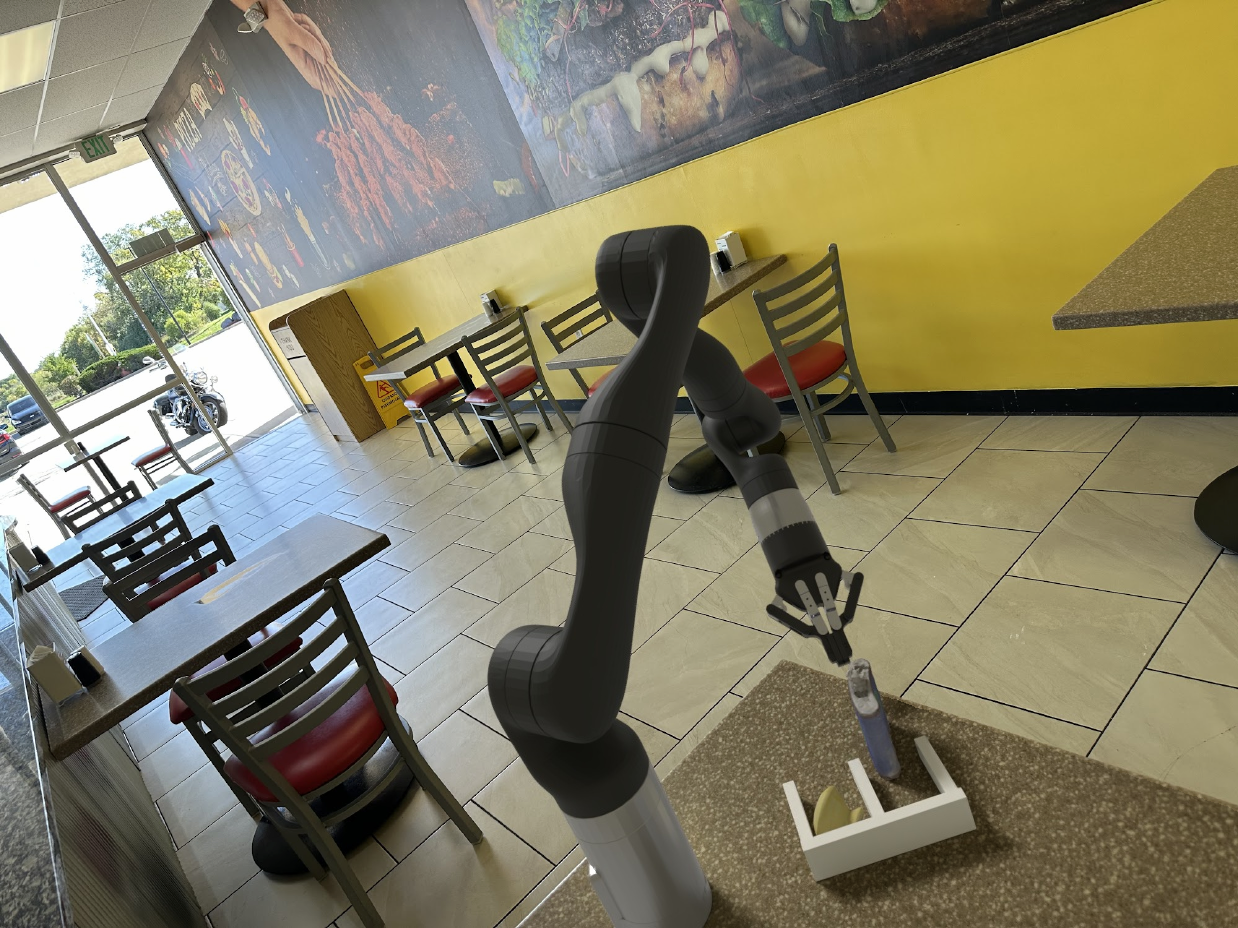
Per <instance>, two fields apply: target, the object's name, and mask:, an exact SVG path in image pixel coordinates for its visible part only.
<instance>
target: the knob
mask: <svg viewBox="0 0 1238 928" xmlns="http://www.w3.org/2000/svg"><path fill="white" fill-rule="evenodd" d="M864 813H865V811H864V807H862V806H860V807H857V808H855V809H852V810H851V809H850V808H849V806H848V803H846V801H845V799H844V797H843V796H842V795H841V793H839V791H838V789H837V787H836V786H835V785H830V786H828V787H827V788H826V789H825V790H823V792H822V793H821V794H820V796H819V797H818V800H817V802H816V804H815V807H814V812H813V829H814V833H815V836H817V835H820V834H823V833H826V832H829V831H832V830H835V829H838V828H841V827H844V826H847V825H850V824H853V823H856V822H859V821H862V820H864Z"/></svg>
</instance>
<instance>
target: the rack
mask: <svg viewBox="0 0 1238 928" xmlns="http://www.w3.org/2000/svg"><path fill="white" fill-rule="evenodd" d="M913 742H914V743H915V747H916V750H917V753H918V756H919V758H920V760H921V762H922V763H923V765H924V767H925V769H926V770H927V772H928V774H929V776H930V777H931V779H932V781H933V783H934V784H935V786H936V788H937V789H938V791H939V794H937V795H934V796H931V797H928V798H925V799H922V800H919V801H917V802H913V803H911V804H907V805H904V806H901V807H898V808H895V809H892V810H890V811H886V812H885V810H884V809H883V807H882V804H881V802H880V799H879V798H878V796H877V794H876V792H875V790H874V788H873V786H872V784H871V781H870V779H869V777H868V775H867V772H866V771H865V768H864V766H863V764H862V762H861V759H860V757H856V758H854V759H851V760H848V761H847V764H848V767H849V769H850V772H851V775H852V778H853V780H854V782H855V784H856V786H857V789H858V791H859V793H860V796H861V797H862V798H861V799H862V800H863V802H864V804H865V807H866V810H867V811H868V814H869V816H870V817H868V818H865V819H863V820H862V821H859V822H856V823H853V824H850V825H847V826H844V827H841V828H838V829H835V830H832V831H829V832H826V833H823V834H820V835H817V836H816V835H814V833H813V830H812V828H811V825H810V822H809V819H808V816H807V813H806V810H805V808H804V805H803V802H802V799H801V797H800V794H799V792H798V789H797V786H796V784H795V782H794V780H790V781H788V782H784V783H782V787H783V791H784V793H785V796H786V799H787V803H788V805H789V808H790V812H791V815H792V817H793V821H794V824H795V827H796V830H797V834H798V837H799V839H800V840H799V841H800V845H801V848H802V851H803V854H804V856H805V858H806V861H807V864H808V866H809V869H810V871H811V873H812V875H813V878H814V881H815V883H816V882H819V881H822V880H825V879H829V878H833V877H834V876H838V875H840V874H844V873H847V872H850V871H852V870H855V869H858V868H862V867H865V866H868V865H871V864H873V863H877V862H881V861H883V860H886V859H890V858H892V857H896V856H898V855H901V854H904V853H907V852H911V851H914V850H916V849H919V848H923V847H926V846H929V845H931V844H932V845H933V844H935V843H938V842H940V841H941V842H942V841H944V840H947V839H950V838H953V837H956V836H959V835H963V834H964V833H968V832H971V831H974V830H976V829H977V825H976V823H975V820H974V816H973V812H972V809H971V807H970V804H969V801H968V797H967V796H966V793H965V792H964V790H963V789H962V787H958V786H957V785H956V783H955V781H954V780H953V779H952V777H951V775H950V773H949V771H948V770H947V768H946V767H945V765H944V763H942V761H941V759H940V757H939V756H938V754H937V752H936V751H935V749H934V748H933V746H932V744H931V743H930V741H929V739H928V737H927V736H926V735H922V736H918V737H916V738H914V739H913Z"/></svg>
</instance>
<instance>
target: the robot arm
mask: <svg viewBox="0 0 1238 928" xmlns="http://www.w3.org/2000/svg"><path fill="white" fill-rule="evenodd" d="M595 257H596V258H595V262H594V263H595V264H594V277H595V283H596V287H597V291H598V293H599V296H600V298H601V300H602V302H603V304H604V305H605V307H606V308H607V309H608V311H609V312H610V313H611V314H612V316H614V318H615V319H616V320H617V321H619V322H620V324H622V325H623V326H624V327H625V328H626V329H627V330H629V332H631V333H632V334H633V336H635V337H636V338H637V341H636V342H635V343H634V346H632V348H631V349H630V351H629V352H628V353H627V354H626V355H625V357H624V358H623V359H622V360H621V361H620V362H619V364H618V365H616V367H615V368H613V369H612V371H610V373H609V374H608V375H607V376H606V377H605V378H604V380H603V381H602V382H601V383H600V384H599V385H598V386H597V388H596V389H595V390H594V391H593V392H592V393H591V394H590V396H589V398H588V399H587V400H586V401H585V403H584V404H583V405H582V408H581V409H580V411H579V412H578V415H577V417H576V420H575V423H574V425H573V429H572V433H571V437H570V442H569V445H568V449H567V453H566V456H565V460H564V463H563V464H564V465H563V469H562V472H561V473H562V474H561V495H562V500H563V501H562V502H563V505H564V510H565V513H566V517H567V518H566V519H567V521H568V525H569V528H570V533H571V536H572V540H573V544H574V550H575V557H576V560H575V561H576V562H575V563H576V564H575V565H576V566H575V577H574V578H575V579H574V585H573V590H572V595H571V600H570V603H569V607H568V611H567V616H566V618H565V622H564V624H563V626H557V625H556V626H555V625H545V624H524V625H521V626H518V627H516V628H514V629H512V630H511V631H508V632H507V633H506V634H505V635H504V636H503V637H502V638H501V639H500V640H499V642H497V644H496V646H495V647H494V649H493V651H492V654H491V656H490V659H489V662H488V663H489V664H488V669H487V675H486V676H487V680H486V681H487V691H488V697H489V701H490V703H491V707H492V710H493V712H494V714H495V717H496V718H497V720H498V723H499V724H500V726H501V728H502V730H503V732H504V733H505V735H506V736H507V738H508V739H509V741H510V743H511V744H512V747H514V749H515V751H516V753H517V754H518V756H519V758H520V759H521V761H522V763H523V764H524V766H525V767H526V769H527V770H528V771H527V772H529V774H530V775H531V776H532V778H533V780H534V781H535V782H536V783H537V784H538V785H539V787H541V788H542V789H543V790H544V791H546V792H547V793H548V794H549V795H551V797H553V798H554V802H556V804H557V807H558V808H559V809H560V811H561V813H562V815H563V817H564V819H565V821H566V823H567V825H568V826H569V828H570V830H571V831H572V834H573V835H574V837H575V839H576V840H577V841H576V842H577V843H578V845H579V846H580V849H581V850H582V852H583V854H584V856H585V858H586V860H587V862H588V879H589V880H588V881H589V883H590V886H592V889H593V890H594V893H595V894H596V896H597V898H598V900H599V901H600V903H601V905H602V907H603V909H604V910H605V912H606V914H607V916H608V918H609V920H610V921H611V923H612V925H613V927H614V928H703V927H704V926H705V924H706V922H707V921H708V919H709V916H710V914H711V910H712V905H713V894H712V893H713V892H712V889H711V886H710V883H709V882H708V881H709V880H708V879H707V877H706V875H705V872H704V870H703V868H702V866H701V864H700V862H699V859H698V858H697V856H696V854H695V851H694V849H693V847H692V845H691V843H690V840H689V839H688V837H687V835H686V833H685V830H684V828H683V826H682V825H681V822H680V820H679V817H678V815H677V813H676V811H675V810H674V807H673V805H672V803H671V801H670V799H669V797H668V795H667V793H666V790H665V789H664V786H663V784H662V782H661V780H660V779H659V778H660V777H659V776H658V774H657V772H656V770H655V768H654V765H653V764H652V762H651V759H650V757H649V755H648V752H647V751H646V749H645V745H644V744H643V742H642V740H641V739H640V737H639V735H638V733H637V732H636V731H635V730H634V729H633V728H632V727H631V726H629V725H628V724H627V723H625V722H624V721H622V720H620V719H619V718H618V715H619V712H620V710H621V706H622V704H623V701H624V697H625V694H626V689H627V685H628V679H629V672H630V667H631V666H630V664H631V657H632V650H633V641H634V631H635V624H636V623H635V622H636V613H637V607H638V606H637V605H638V596H639V591H640V590H639V589H640V583H641V576H642V571H643V565H644V561H645V559H644V558H645V554H646V549H647V544H648V539H649V532H650V527H651V523H652V522H651V521H652V518H653V517H652V516H653V513H654V508H655V505H656V501H657V498H658V493H659V490H660V486H661V482H662V478H663V477H662V476H663V472H664V467H665V463H666V459H667V453H668V448H669V443H670V435H671V430H672V426H673V425H672V424H673V420H674V416H675V410H676V407H677V406H676V405H677V401H678V397H679V393H680V388H681V384H682V385H683V387H684V388H685V390H686V392H688V395H689V396H690V398H692V400H693V402H694V403H695V405H696V406H697V408H698V409H699V410H700V411H701V413H702V414H704V417H703V419H702V424H701V433H702V437H703V439H704V441H705V442H706V444H707V445H708V447H709V448H710V449H711V451H712V452H713V453H714V454H715V455H716V457H717V458H718V459H719V460H720V461H721V462H722V463H723V465H724V466H725V468H726V469H727V470H728V471H729V472H730V475H731V476H732V477H733V479H734V482H735V483H736V485H737V487H738V488H739V491H740V494H741V496H742V498H743V501H744V503H745V505H746V507H747V510H748V512H749V517H750V519H751V524H752V527H753V529H754V532H755V536H756V539H757V542H758V543H759V545H760V547H761V549H762V552H763V554H764V556H765V559H766V561H767V564H768V567H769V569H770V572H771V574H772V576H773V579H774V583H775V585H774V591H775V596H774V598H773V600H772V601H771V603H769V604H767V605H766V607H765V610H766V614H767V616H768V617H769V618H770V619H772V620H774V621H776V622H777V623H778V624H780V625H782V626H784V627H786V628H787V629H788V630H790V631H792V632H794V633H796V634H798V635H799V636H801V637H802V638H804V639H811V638H816V639H818V640H820V642H821V644H822V647H823V649H824V652H825V654H826V656H827V658H828V661H829V662H830V663H831V664H832V665H834V664H836V666H837V668H840V667H841V668H842V667H844V666H848V665H850V663H851V662H852V661H851V659H852V658H853V649H852V647H851V645H850V643H849V640H848V638H847V636H846V633H845V627H847V626H848V625H849V624H851V623H853V621H854V618H855V614H856V610H857V607H858V603H859V599H860V595H861V592H862V589H863V586H864V585H863V584H864V579H865V576H864V574H863V573H862V572H860V571H856V572H851V571H848V570H844V569H843V568H842V566H841V565H840V563H839V562H837V561H836V560H835V559H834V558H833V556H832V554H831V552H830V549H829V548H828V545H827V543H826V541H825V539H824V536H823V534H822V532H821V530H820V528H819V525H818V523H817V521H816V518H815V516H814V515H813V512H812V510H811V508H810V505H809V504H808V502H807V501H806V499H805V497H804V496H803V494H802V492H801V490H800V488H799V486H798V483H797V481H796V479H795V477H794V474H793V473H792V470H791V469H790V467H789V466H790V465H789V464H788V462H787V460H786V458H784V457H783V455H781V454H778V453H764V454H759V455H755V456H754V455H753V456H746V455H745V456H744V455H742V454H744V453H745V452H748V451H749V450H751V449H754V448H756V447H758V446H761V445H763V444H765V443H767V442H770V441H771V440H772V439H774V438H775V437H776V436H778V434H779V433H780V430H781V427H782V415H781V412H780V409H779V407H778V405H777V403H775V401H774V400H773V399H772V398H771V397H770V396H769V395H768V394H767V393H766V392H765V391H763V390H762V389H760V388H759V387H758V386H756V385H754V384H753V383H752V382H751V381H749V380H748V379H747V378H746V376H745V374H744V372H743V370H742V369H741V368H740V365H739V364H738V362H737V360H736V358H735V356H734V355H733V354H732V351H730V350H729V348H727V347H726V345H725V344H723V342H721V341H720V340H719V339H717V338H716V337H714V336H713V335H712V334H710V333H709V332H708V331H706V330H704V329H702V328H700V327H699V325H700V321H701V317H702V314H703V312H704V308H705V305H706V301H707V298H708V293H709V288H710V282H711V274H712V259H711V251H710V246H709V243H708V240H707V239H706V237H705V235H704V234H703V232H702V231H701V230H700V229H698V227H697V228H696V227H695V226H694V225H687V224H670V225H663V226H662V225H661V226H654V227H653V226H652V227H649V228H648V227H647V228H639V229H634V230H633V229H632V230H627V231H622V232H620V233H619V232H618V233H615V234H612V235H610V236H609V237H607V238H606V239H605V240H603V241H602V243H601V244H600V246H599V249H598V251H597V253H596V256H595ZM841 581H843V583H844V584H843V585H844V589H845V590H846V591H848V595H847V598H846V601H845V605H844V609H843V612H842V613H841V614H840V615H839V611H838V609H837V606H836V603H835V601H836V600H837V598H838V595H839V594H838V593H839V590H840V585H841ZM784 602H785V603H787V604H789V605H790V606H792V607H793V608H795V609H796V610H798V611H800V612H802V613H805V614H806V615H807V617H808V619H809V621H810V622H811V624H807V623H805V622H804V621H802V620H800V619H799V618H797V617H795V616H793V615H792V614H791V613H789V612H788V607H787V605H786V604H785V603H784ZM819 608H823V612H824V614H825V616H826V619H827V623H828V625H829V627H830V631H831V632H830V631H829V628H828V626H827V624H826V621H824V618H823V617H822V615H821V612H820V610H819ZM850 658H851V659H850Z"/></svg>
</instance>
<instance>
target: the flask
mask: <svg viewBox="0 0 1238 928" xmlns="http://www.w3.org/2000/svg"><path fill="white" fill-rule="evenodd" d="M847 669H848V670H847V671H846V672H845V677H846V678H847V690H848V693H849V694H848V695H849V697H850V701H851V705H852V706H853V708H854V712H855V716H856V718H857V720H858V723H859V726H860V729H861V731H862V736H863V738H864V741H865V744H866V747H867V750H868V753H869V756H870V759H871V760H872V764H873V767H874V769H875V771H876V772H877V774H878V775H879V776H880V778H882V779H883V780H886V781H892V780H895V779H899V778H900V774H901V770H902V769H901V763H900V762H899V760H898V757H897V749H896V747H895V746H894V744H893V742H892V741H893V738H892V737H891V733H892V732H891V727H890V723H889V719H888V717H887V714H886V710H885V708H884V705H883V702H882V698H881V694H880V692H879V690H878V685H877V683H876V680H875V677H874V675H873V670H872V667H871V664H870V661H868V660H867V659H865V658H858V659H855V660H852V661H851V662H850V664H848V668H847Z"/></svg>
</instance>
